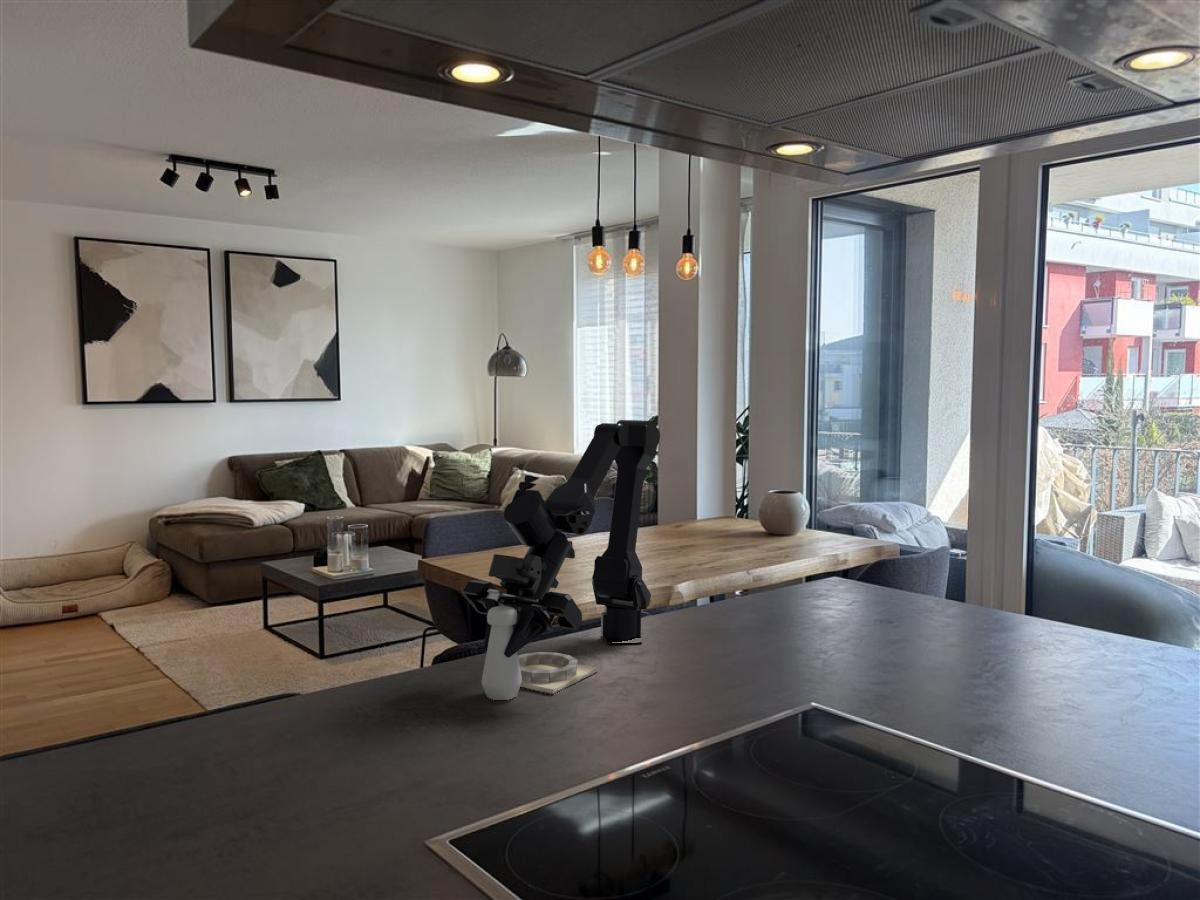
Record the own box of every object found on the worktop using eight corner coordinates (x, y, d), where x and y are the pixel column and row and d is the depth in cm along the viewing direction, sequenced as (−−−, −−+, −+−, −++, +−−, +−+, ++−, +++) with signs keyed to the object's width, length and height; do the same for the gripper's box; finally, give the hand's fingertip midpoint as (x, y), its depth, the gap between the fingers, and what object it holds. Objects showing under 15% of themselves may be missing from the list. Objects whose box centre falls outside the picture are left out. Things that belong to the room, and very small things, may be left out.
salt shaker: (476, 701, 124) (476, 611, 123) (488, 688, 129) (488, 601, 129) (516, 704, 123) (516, 613, 122) (526, 691, 128) (526, 604, 128)
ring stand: (534, 660, 143) (534, 646, 143) (596, 673, 137) (596, 658, 137) (488, 680, 133) (488, 665, 133) (553, 695, 127) (553, 679, 127)
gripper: (469, 527, 133) (419, 613, 124) (572, 538, 123) (525, 633, 114) (501, 569, 140) (455, 654, 131) (600, 583, 130) (558, 676, 122)
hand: (496, 653), depth 124 cm, fingers closed on salt shaker, 3 cm apart
